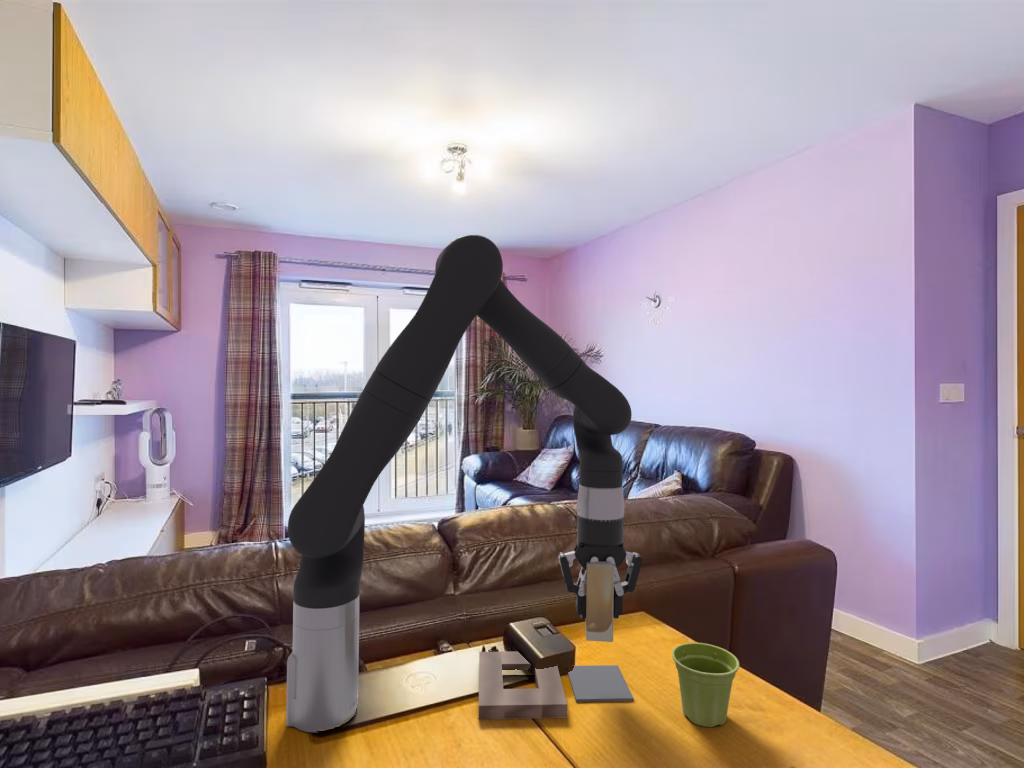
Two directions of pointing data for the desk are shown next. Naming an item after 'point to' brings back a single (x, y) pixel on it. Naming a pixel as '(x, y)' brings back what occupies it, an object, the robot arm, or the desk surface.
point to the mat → (599, 684)
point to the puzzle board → (518, 690)
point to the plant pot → (705, 681)
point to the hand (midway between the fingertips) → (599, 616)
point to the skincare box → (599, 601)
